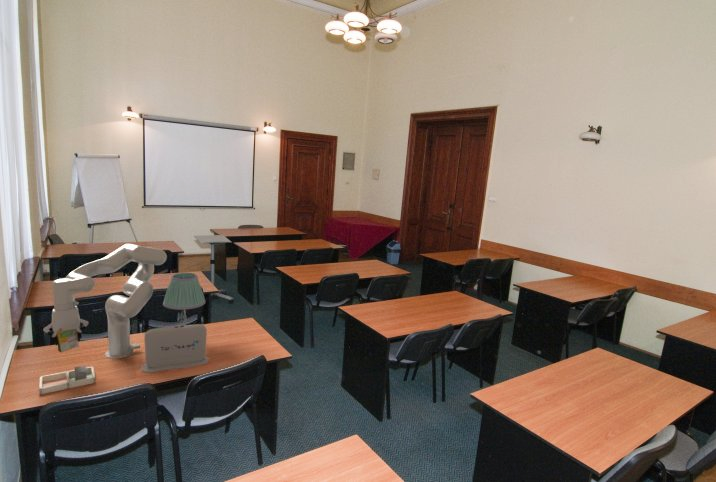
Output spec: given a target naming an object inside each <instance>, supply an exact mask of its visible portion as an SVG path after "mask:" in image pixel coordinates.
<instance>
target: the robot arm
mask: <svg viewBox="0 0 716 482" xmlns="http://www.w3.org/2000/svg"><path fill="white" fill-rule="evenodd" d="M167 258H168V255H167V253H166V251H165V250H162V249H161V248H157V247H151V246H143V245H139V244H134V243H125V244H123V245H122V246H120V247H118V248H117V249H115V250H113V251H112V252H110V253H109V254H107V255H106V256H104V257H102V258H100V259H96V260H94V261H91V262H88V263H85V264H82V265H81V266H78V267H77V268H76V269H73V270H72V271H71V272H69V273H68V274H67V275H66V276H65V277H62V278H57V279H55V280H53V281H52V285H51V286H52V296H53V298H52V299H53V307H54V308H53V309H52V312H51V323H49V324H48V325H46V326H45V327H44V328H43V332H44V333H46V334H47V335H48V336H50V337H51V338H52V343H53V344H55V346H58V343H57V333H58V332H59V329H60V328H62V330H63V331H65V330H72V329H76V330H77V334H78V342H80V341H81V339H83V338H82V332H83V331H84V330H85V329H86V328H87V327H88V325H89V321H88V320H85V319H82V318H80V312H79V308H78V305H80V304H79V303H80V302H79V301H76V300H75V299H76V298H75V294H82V293H87V292H90V291H92V290H94V288H95V286H96V281H95V280H94V278H92V277H94V276H99V275H103V274H104V275H105V274H112V273H115V272H117V271H118V270H120V269H122V268H123V267H124V266H125V265H127V264H129V263H130V262H134V263H138V266H137V268H136V269H135V271H134V272H133V273H132V274H131V276H129V278H128V279H127V280H126V281H125V282H124V284H123V286H122V288H121V289H122V292H123V293H124V294H125V295H126V296H124V295H120V294H113V295H111V296H109V297H108V298H107V300H106V301H105V305H104V308H105V313H106V316H107V317H106V318H107V336H108V338H107V339H108V340H107V343H108V344H107V346H108V348H107V349H108V350H107V351H106V352H105V353H104V356H105V357H106V358H107V359H122V358H125V357H128V358H129V357H131V355H133V354H134V350H137V349H141V344H138V343H133V344H132V343H131V341H130V340H131V337H130V335H131V334H130V333H131V332H130V331H131V330H130V325H131V323H130V318H131V319H132V318H134V317H135V316H137V315H138V314H139V312H141V311H142V309H143V307H144V306H145V305H146V304H147V303H148V301H149V300H150V299H151V297H152V296H153V293H154V285H153V284H152V283H151V282H150V281H151V279H152V278H153V276H154V272H155V266H161V265H163V264H164V263H165V262H166V261H167ZM128 296H129V297H128ZM81 324H82V326H81ZM51 328H52V330H49V329H51Z"/></svg>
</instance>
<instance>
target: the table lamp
mask: <svg viewBox="0 0 716 482" xmlns="http://www.w3.org/2000/svg"><path fill="white" fill-rule="evenodd" d="M206 302H207V301H206V299H205V295H204V292H203V290H202V287H201V284H200V282H199V278H198V275H197V274H196V273H190V272H181V273H180V272H179V273H175V274H173V275H172V277H171V279H170V282H169V284H168V287H167V288H166V291H165V295H164V298H163V302H162V306H163V307H165V308H166V309H170V310H180V311H181V312H178V313H177V322H179V321H180V323H181V324H182V321H183V324H182V326H184V325H187V321H188V319H187V318H188V317H187V315H186V312H187V311H186V310H191V309H197V308H200V307H203V306H205V304H206Z"/></svg>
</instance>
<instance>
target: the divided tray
mask: <svg viewBox="0 0 716 482" xmlns="http://www.w3.org/2000/svg"><path fill="white" fill-rule="evenodd" d="M95 383H96V374H95V370H94V366H93V365H92V366H89V367H86V379H81V380H76V381H75V369H73V370H72V369H71V370H66V371H61V372H56V373H51V374H46V375H40V376H39V384H38V385H39V386H38V389H39V390H38V392H39V394H38V395H44V394H49V393H54V392H57V391H59V392H60V391H63V390H68V389H72V388H73V389H74V388H77V387H81V386H86V385H90V384H91V385H92V384H95Z"/></svg>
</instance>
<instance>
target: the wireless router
mask: <svg viewBox="0 0 716 482" xmlns="http://www.w3.org/2000/svg"><path fill="white" fill-rule="evenodd" d="M183 325H184V324H183ZM183 325H175V326H166V327H165V326H164V327H157V328H156V327H154V328H150V329H148V330H147V331H146V332H144V350H145V351H144V355H145V363H144V364H143V365H141V367H140V371H142V372H143V373H157V372H158V373H159V372H162V371H164V372H165V371H171V370H177V369H184V368H191V367H193V368H194V367H199V366H204V365H206V364H207V363H209V361H210V359H209V356H206V349H207V347H206V345H207V331H208V330H207V327H206V326H205V325H204V324H201V323H195V324H186V325H184V326H183Z"/></svg>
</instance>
